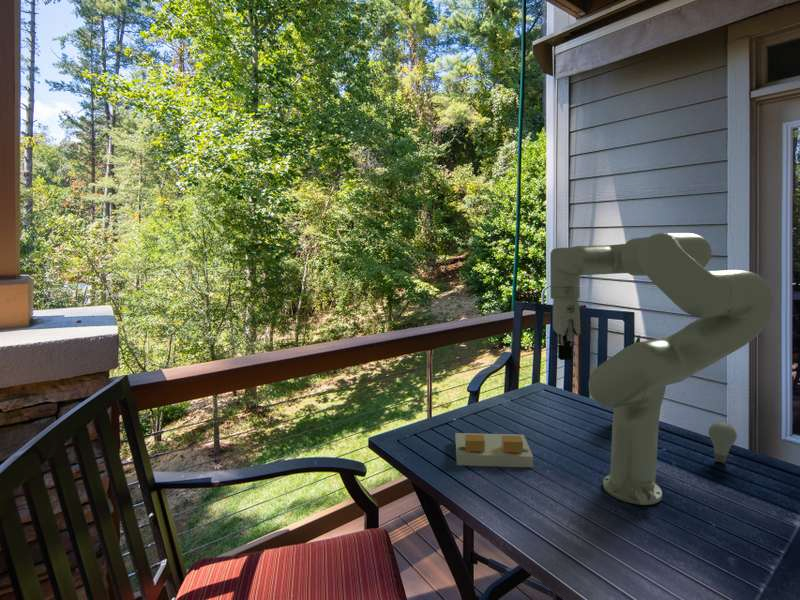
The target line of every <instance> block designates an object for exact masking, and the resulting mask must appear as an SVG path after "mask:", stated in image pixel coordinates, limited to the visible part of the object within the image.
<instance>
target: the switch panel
mask: <svg viewBox="0 0 800 600" xmlns="http://www.w3.org/2000/svg"><path fill="white" fill-rule="evenodd" d="M465 434H468V435H484V440H485V452H476V451H466V447H465ZM454 435H455V436H454V439H455V441H454V442H455V445H456V446H455V456H456V458H455V460H456V461H455V462H456V466H467V465H468V466H472V467H474V466H476V467H499V468H500V467H504V468H509V467H510V468H534V455H533V453H532V451H531V449H530V446H529V444H528V441H527V439H526V436H525V434H519V433H518V434H514V433H513V434H509V433H507V434H506V433H477V432H475V433H471V432H469V433H468V432H455V434H454ZM502 435H505V436H521V439H522V441H523V453H509V452H503V449H502Z"/></svg>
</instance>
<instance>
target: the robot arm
mask: <svg viewBox="0 0 800 600" xmlns="http://www.w3.org/2000/svg"><path fill="white" fill-rule="evenodd" d="M712 252H713V251H712V247H711V245H710V243H709V242H708V240H707V239H705V237H703V236H701V235H699V234H696V233H693V232H692V233H691V232H662V233H660V232H659V233H655V234H653V235H650V236H644V237H635V238H631V239H629V240H628V241H627V242H626V243H619V244H610V245H609V244H607V245H606V244H605V245H602V244H600V245H597V244H596V245H595V244H594V245H576V246H572V247H557V248H556V247H555V248H553V249H552V250H551V252H550V278H549V279H550V282H549V283H550V288H549V289H550V299H551V300H552V301H553V302H552V330H553V331H554V332H555V333H556V334H557V359H559V360H560V361H570V360H572V358H573V357H572V355H573V354H572V349H573V347H572V345H573V341H574V336H580V335H581V315H580V314H581V312H580V311H581V310H580V303H579V299H581V298H580V297H581V294H580V292H581V289H580V288H581V287H580V286H581V278H580V277H581V276H590V275H591V276H592V275H593V276H594V275H611V274H612V275H614V274H615V275H616V274H629V275H631V276H635V277H637V276H638V277H640V276H645V277H647V278H649V280H650V281H651V282H652V283H653V284H654V285H655V286H656V287H657V288H658V289H659V290H660V291H661V292H662V293H663V294H665V295H666V297H667V298H669V299H670V301H671V302H672V303H674V305H676V306H677V308H679V309H680V310H682V312H684V313H685V314H687V315H690V316H692V317H696V318H698V319H696V320H694V321H692V322H690V323H689V324H687V325H686V326H685V327H683V328H681V329H680V330H678V331H677V332H674V333H673V334H671V335H669V336H666V337H663V338H657V339H651V340H643V341H640V342H638V343H635V342H634V343H632V344H630V345H628V346H626V347H624V348H623V349H621V350H620V351H618V352H617V353H615V354H614V355H612V356H611V357H610V358H608V359H607V360H605V361H604V362H602V363H600V365H598V366H597V367H596V368H594V369H593V371H592V372H591V374H590V375H589V380H588V390H589V394H590V396H591V398H592V399H593V400H594V401H595V402H596V403H597V404H598V405H601V406H602V407H604V408H609V409H613V410H614V411H613V415H612V423H611V424H612V429H611V448H610V449H611V450H610V452H611V453H610V473H609V474H608V475H606V476H604V478H603V479H602V487H603V488H604V489H603V490H604V491H605V492H606V493H607V494H609V495H610V496H612V497H614V498H615V499H617V500H619V501H623V502H625V503H629V504H633V505H638V506H639V505H640V506H650V505H655V504H657V503H659V502H661V501H662V499H663V491H662V489H661V487H660V486H659V485H658V484H657V483H656V479H657V478H656V474H657V460H658V459H657V457H658V441H659V440H658V439H659V430H660V429H659V428H660V427H659V425H660V415H661V409H662V405H663V404H662V403H663V401H664V396H665V393H666V388H667V387H666V386H669V385H673V384H678V383H681V382H683V381H686V380H687V379H689V378H691V377H692V376H694V375H695V374H697V373H699V372H700V371H703V370H704V369H707V368H708V367H710V366H711V365H714V364H715V363H717V362H719V361H720V360H722V359H724V358H726V357H727V356H729V355H730V354H732V353H734V352H736V351H738V350H739V349H742V348H743V347H744V346H746V345H747V344H749V343H750V342H751V341H752V340H755V338H756V337H757V336H759V334H760V333H761V332H763V330H764V329H765V327H766V326H767V324H768V322H769V320H770V318H771V316H772V312H773V306H774V298H773V296H774V295H773V292H772V289H771V287H770V284H768V283H769V282H768V281H766V280H765V278H763V277H762V276H761V275H759V274H758V273H755V272H752V271H747V270H744V269H743V270H742V269H724V270H723V269H722V270H707V269H706V266H707V265H708V264H709V262H710V261H711V258H712Z"/></svg>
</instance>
